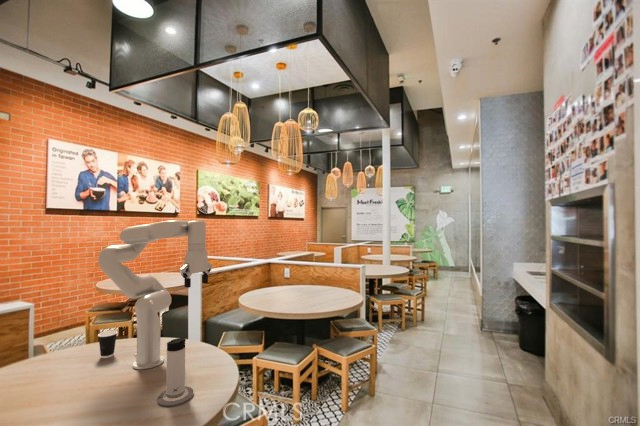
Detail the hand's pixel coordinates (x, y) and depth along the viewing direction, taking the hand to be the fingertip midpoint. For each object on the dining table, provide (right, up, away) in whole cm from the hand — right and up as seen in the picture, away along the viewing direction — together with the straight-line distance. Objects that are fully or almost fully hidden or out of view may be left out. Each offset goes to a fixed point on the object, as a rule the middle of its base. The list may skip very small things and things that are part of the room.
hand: (196, 285), depth 141 cm
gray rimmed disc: (+3, -35, -26) cm, 44 cm away
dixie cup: (-48, -37, +10) cm, 61 cm away
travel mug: (+3, -34, -26) cm, 43 cm away
